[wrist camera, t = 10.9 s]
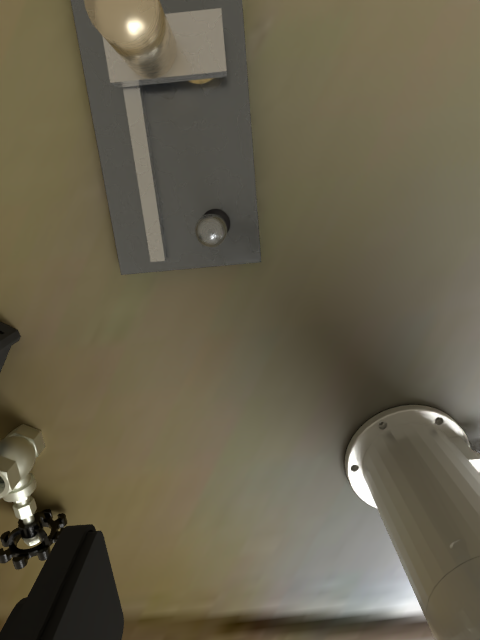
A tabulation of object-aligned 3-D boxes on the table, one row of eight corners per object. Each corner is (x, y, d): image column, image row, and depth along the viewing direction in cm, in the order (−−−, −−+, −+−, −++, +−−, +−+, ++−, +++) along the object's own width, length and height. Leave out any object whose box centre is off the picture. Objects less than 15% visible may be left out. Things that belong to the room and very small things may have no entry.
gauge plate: (236, -65, 28) (235, -170, 20) (260, 259, 35) (266, 279, 27) (68, -47, 28) (0, -143, 20) (126, 271, 35) (92, 295, 27)
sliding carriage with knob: (222, 21, 28) (215, -56, 19) (227, 79, 29) (222, 31, 20) (110, 33, 28) (52, -38, 19) (119, 90, 29) (68, 47, 20)
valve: (-10, 423, 40) (20, 518, 44) (-55, 466, 34) (-16, 572, 38) (55, 419, 40) (79, 513, 44) (21, 461, 34) (52, 567, 38)
